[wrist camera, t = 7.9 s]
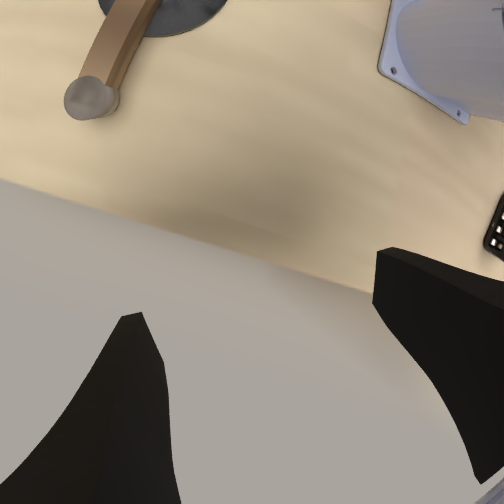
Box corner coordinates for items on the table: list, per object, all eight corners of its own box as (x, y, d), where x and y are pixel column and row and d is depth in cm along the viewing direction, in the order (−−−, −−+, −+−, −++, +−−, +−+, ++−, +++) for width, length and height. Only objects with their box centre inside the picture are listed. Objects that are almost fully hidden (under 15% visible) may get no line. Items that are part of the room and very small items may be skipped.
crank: (155, -47, 9) (153, -77, 6) (197, -36, 10) (205, -64, 7) (74, 111, 12) (51, 113, 9) (117, 123, 13) (103, 127, 10)
